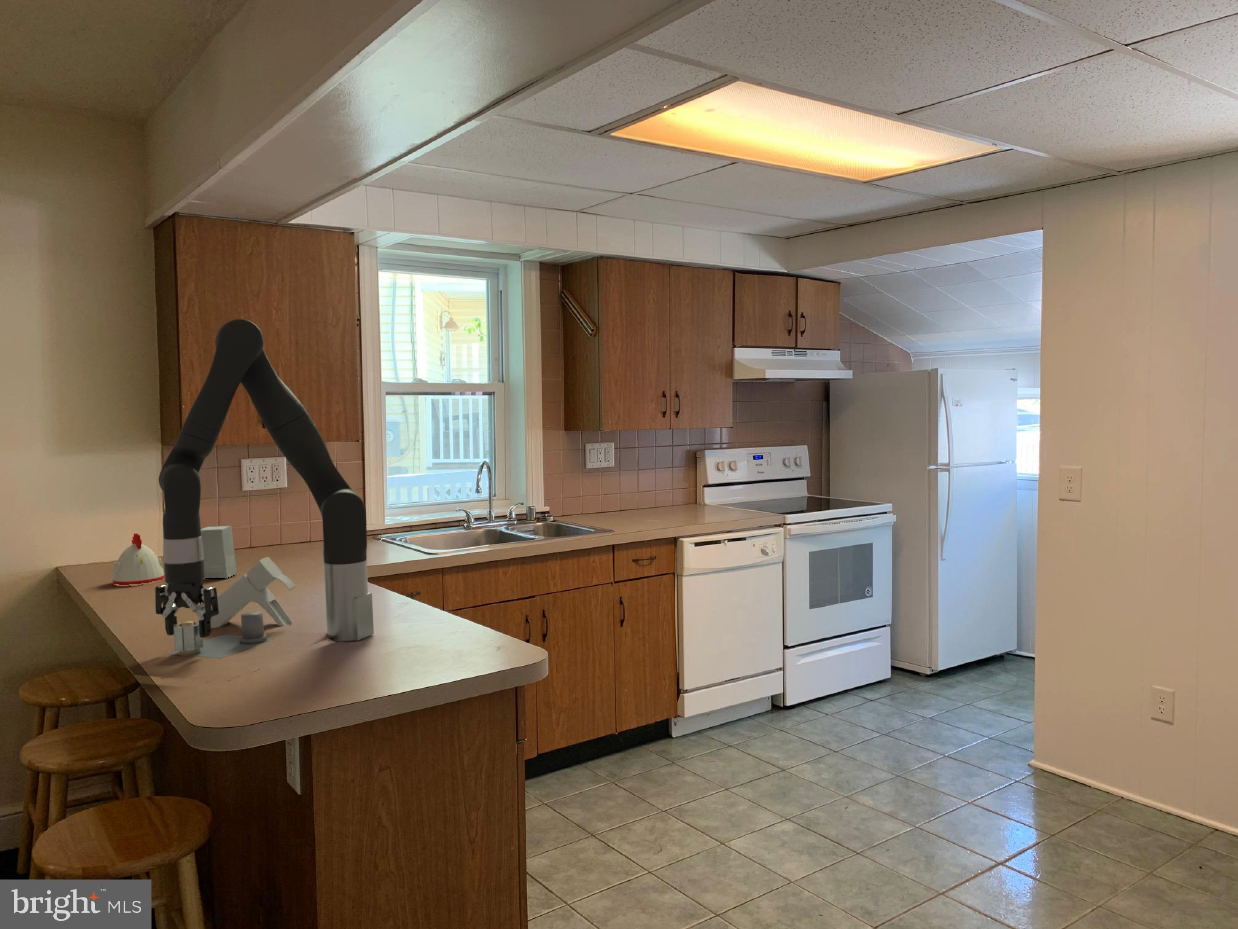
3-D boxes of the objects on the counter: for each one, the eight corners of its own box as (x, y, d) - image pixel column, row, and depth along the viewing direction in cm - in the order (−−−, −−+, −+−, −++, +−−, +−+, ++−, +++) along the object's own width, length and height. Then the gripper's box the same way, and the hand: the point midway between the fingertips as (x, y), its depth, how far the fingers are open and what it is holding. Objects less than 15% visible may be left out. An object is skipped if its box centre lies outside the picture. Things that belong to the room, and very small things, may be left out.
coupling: (209, 645, 192) (207, 621, 192) (189, 652, 187) (188, 628, 187) (188, 643, 194) (187, 620, 194) (169, 650, 189) (167, 626, 188)
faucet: (207, 607, 218) (269, 553, 217) (253, 657, 219) (314, 604, 218) (195, 613, 212) (258, 557, 211) (242, 665, 212) (305, 610, 212)
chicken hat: (119, 589, 268) (116, 538, 267) (108, 582, 278) (105, 534, 277) (170, 582, 277) (167, 533, 276) (157, 576, 287) (154, 529, 286)
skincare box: (237, 575, 285) (234, 525, 284) (225, 579, 278) (222, 528, 277) (211, 575, 286) (208, 525, 285) (199, 580, 279) (196, 528, 278)
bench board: (274, 643, 201) (272, 609, 200) (221, 664, 186) (219, 627, 185) (222, 639, 205) (220, 606, 205) (167, 659, 190) (164, 623, 190)
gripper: (224, 556, 191) (229, 633, 192) (170, 554, 195) (175, 629, 196) (197, 563, 183) (202, 642, 185) (142, 561, 188) (147, 638, 189)
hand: (188, 635), depth 190 cm, fingers open, 8 cm apart
